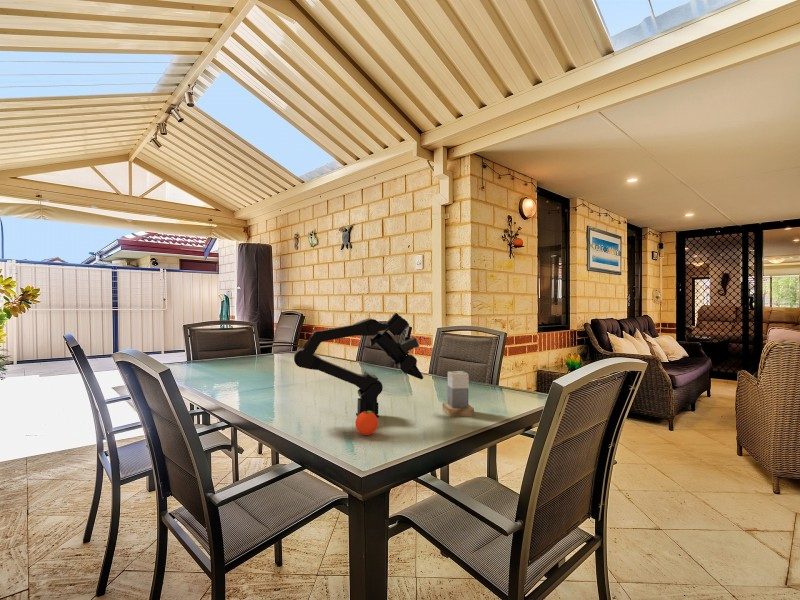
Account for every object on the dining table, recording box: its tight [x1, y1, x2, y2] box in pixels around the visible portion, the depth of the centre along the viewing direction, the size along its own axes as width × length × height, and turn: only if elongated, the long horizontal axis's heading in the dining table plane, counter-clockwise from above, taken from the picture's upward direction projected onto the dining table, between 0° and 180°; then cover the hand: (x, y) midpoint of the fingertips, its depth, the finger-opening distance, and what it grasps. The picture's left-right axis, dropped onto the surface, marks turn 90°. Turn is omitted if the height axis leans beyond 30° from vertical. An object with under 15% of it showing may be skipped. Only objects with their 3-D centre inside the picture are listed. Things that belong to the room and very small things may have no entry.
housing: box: [446, 370, 470, 408], centre depth 143 cm, size 6×6×12 cm
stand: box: [442, 402, 475, 418], centre depth 143 cm, size 9×9×2 cm
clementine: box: [354, 411, 379, 436], centre depth 120 cm, size 8×7×7 cm
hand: (419, 376), depth 141 cm, fingers open, 9 cm apart
